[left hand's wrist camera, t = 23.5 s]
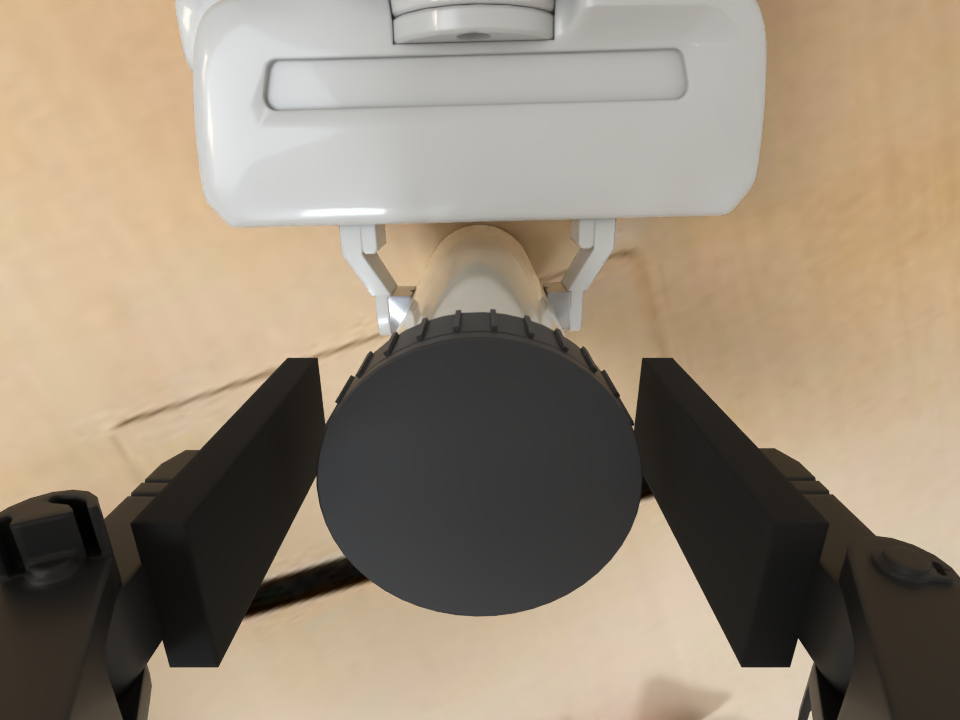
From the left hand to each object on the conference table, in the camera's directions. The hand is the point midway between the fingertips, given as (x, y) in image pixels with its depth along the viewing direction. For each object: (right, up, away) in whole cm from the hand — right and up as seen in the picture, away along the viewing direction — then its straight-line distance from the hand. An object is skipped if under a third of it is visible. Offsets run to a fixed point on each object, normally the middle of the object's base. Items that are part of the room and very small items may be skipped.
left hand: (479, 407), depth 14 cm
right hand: (0, +3, +9) cm, 9 cm away
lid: (0, -1, -3) cm, 3 cm away
